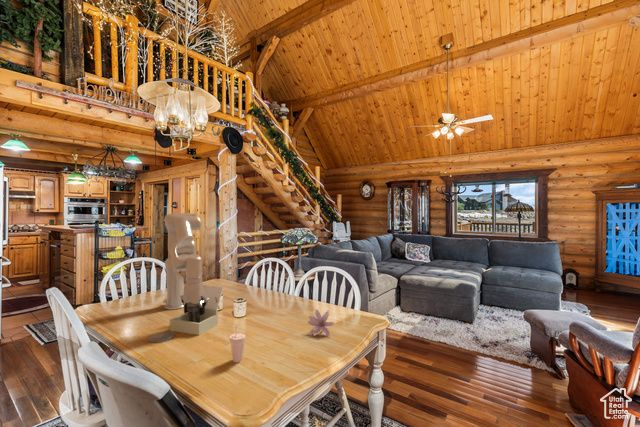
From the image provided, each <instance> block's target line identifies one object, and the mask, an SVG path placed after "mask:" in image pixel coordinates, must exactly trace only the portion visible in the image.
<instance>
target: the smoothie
mask: <svg viewBox="0 0 640 427" xmlns="http://www.w3.org/2000/svg"><path fill="white" fill-rule="evenodd" d="M246 336H247V335H246V334H245V333H241V332H239V333H238V325H237V324H235V333H233V334H231V335H229V342H230V348H231V355H232V361H233V363H241V362H242V361H243V359H244V350H245V343H246V342H245V341H246V339H247V338H246Z"/></svg>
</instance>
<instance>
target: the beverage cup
mask: <svg viewBox="0 0 640 427" xmlns="http://www.w3.org/2000/svg"><path fill="white" fill-rule="evenodd" d="M199 308H200V306H199V304H193V303H191V302H189V303H187V310H188V317H189V322H196V323H200V315H199Z"/></svg>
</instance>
